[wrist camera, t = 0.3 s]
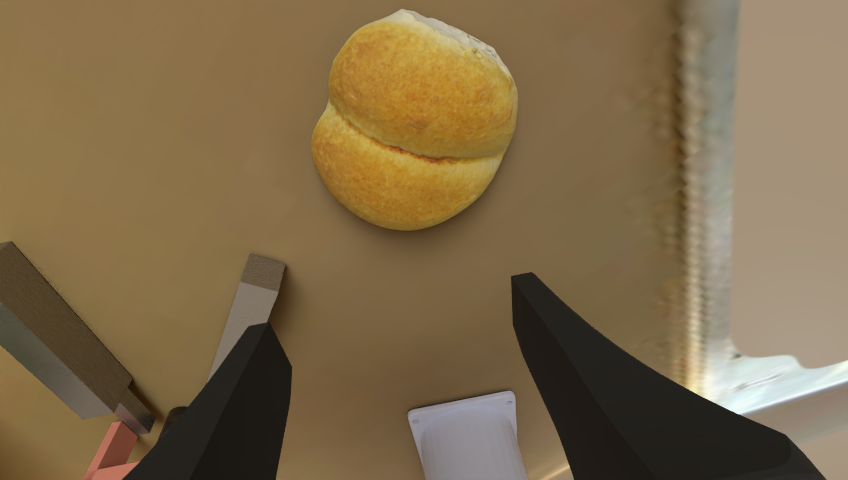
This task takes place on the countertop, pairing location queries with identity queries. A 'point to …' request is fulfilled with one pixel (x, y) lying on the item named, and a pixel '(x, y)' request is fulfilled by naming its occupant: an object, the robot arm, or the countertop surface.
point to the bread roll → (413, 121)
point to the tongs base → (65, 348)
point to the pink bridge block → (113, 454)
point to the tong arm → (250, 302)
